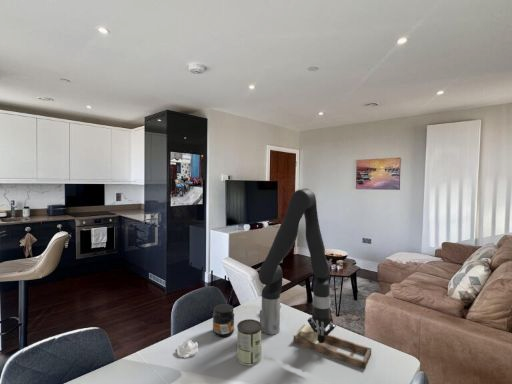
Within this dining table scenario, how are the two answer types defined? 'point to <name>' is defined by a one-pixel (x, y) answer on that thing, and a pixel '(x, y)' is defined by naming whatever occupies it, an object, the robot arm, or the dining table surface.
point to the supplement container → (223, 320)
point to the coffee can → (249, 342)
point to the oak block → (308, 334)
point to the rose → (187, 349)
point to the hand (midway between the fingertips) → (321, 342)
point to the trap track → (332, 345)
